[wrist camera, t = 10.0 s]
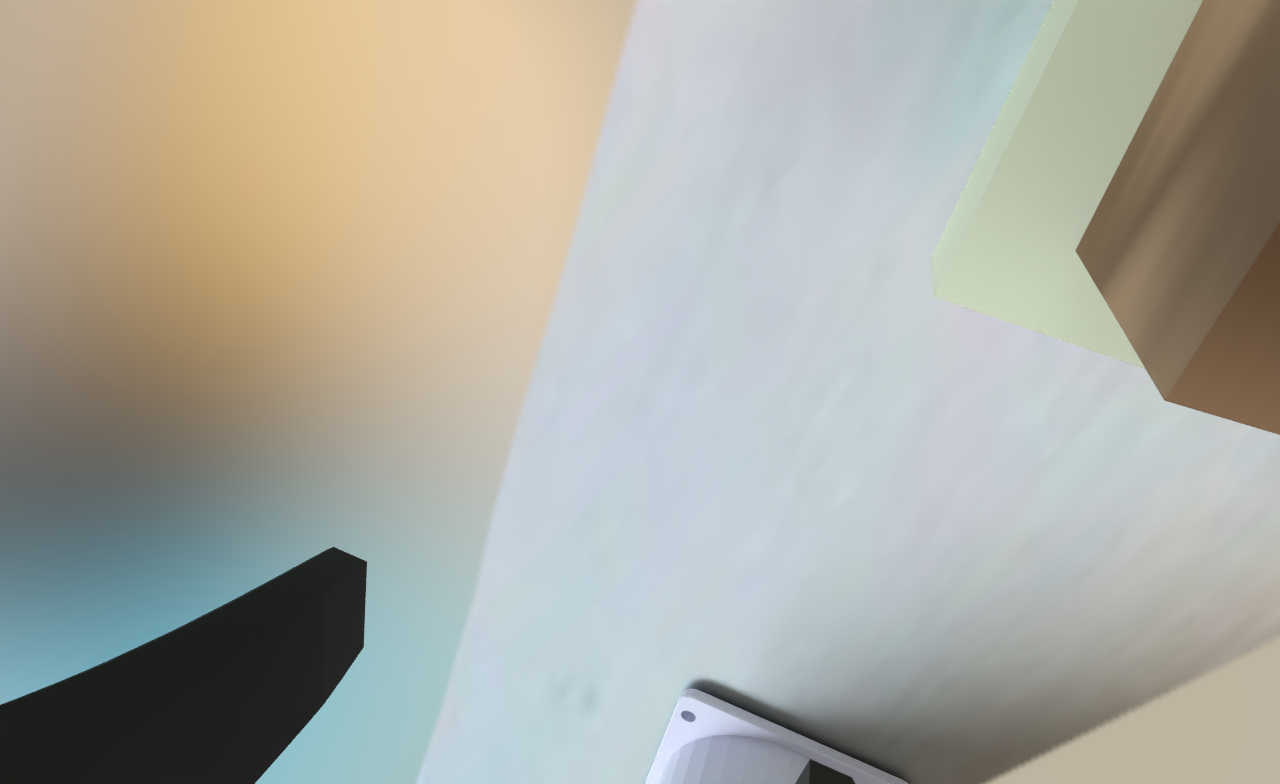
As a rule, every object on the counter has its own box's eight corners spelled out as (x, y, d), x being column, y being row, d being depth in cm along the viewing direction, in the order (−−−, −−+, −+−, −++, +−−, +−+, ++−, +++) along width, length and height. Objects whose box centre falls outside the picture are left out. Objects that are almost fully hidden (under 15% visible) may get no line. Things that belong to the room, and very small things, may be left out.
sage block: (1297, 373, 16) (1369, 444, 13) (930, 252, 17) (933, 297, 15) (1647, -49, 12) (1848, -61, 9) (1129, -170, 13) (1180, -209, 10)
